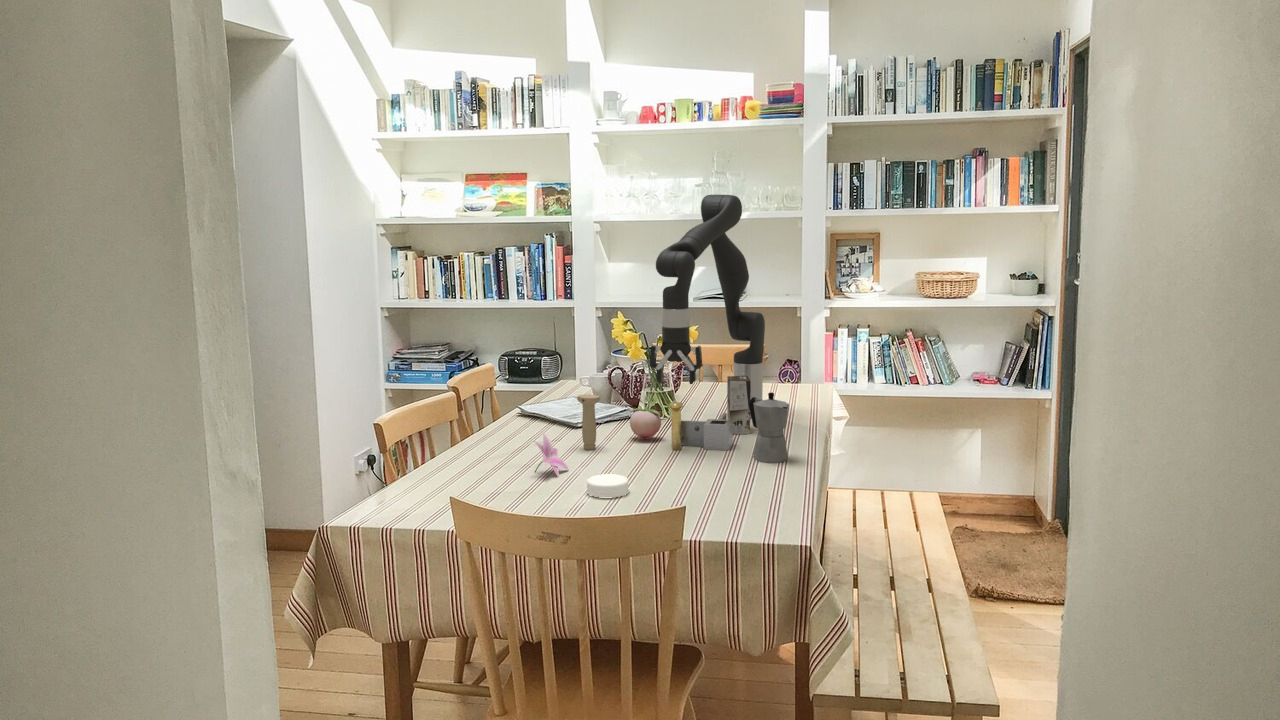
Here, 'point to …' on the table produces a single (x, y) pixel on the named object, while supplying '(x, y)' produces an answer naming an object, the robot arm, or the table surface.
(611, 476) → the white round disc
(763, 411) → the coffeepot
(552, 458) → the lily
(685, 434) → the grey corner bracket
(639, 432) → the decorative fruit
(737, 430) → the coffee box
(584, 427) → the handle
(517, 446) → the table surface
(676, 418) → the hinge pin
